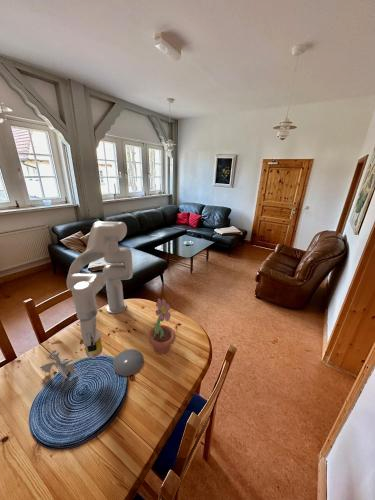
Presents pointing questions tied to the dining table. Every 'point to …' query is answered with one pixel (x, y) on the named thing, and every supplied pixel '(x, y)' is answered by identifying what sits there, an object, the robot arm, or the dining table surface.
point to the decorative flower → (162, 330)
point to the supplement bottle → (98, 346)
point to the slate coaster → (128, 362)
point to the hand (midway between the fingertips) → (93, 343)
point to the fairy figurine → (59, 365)
